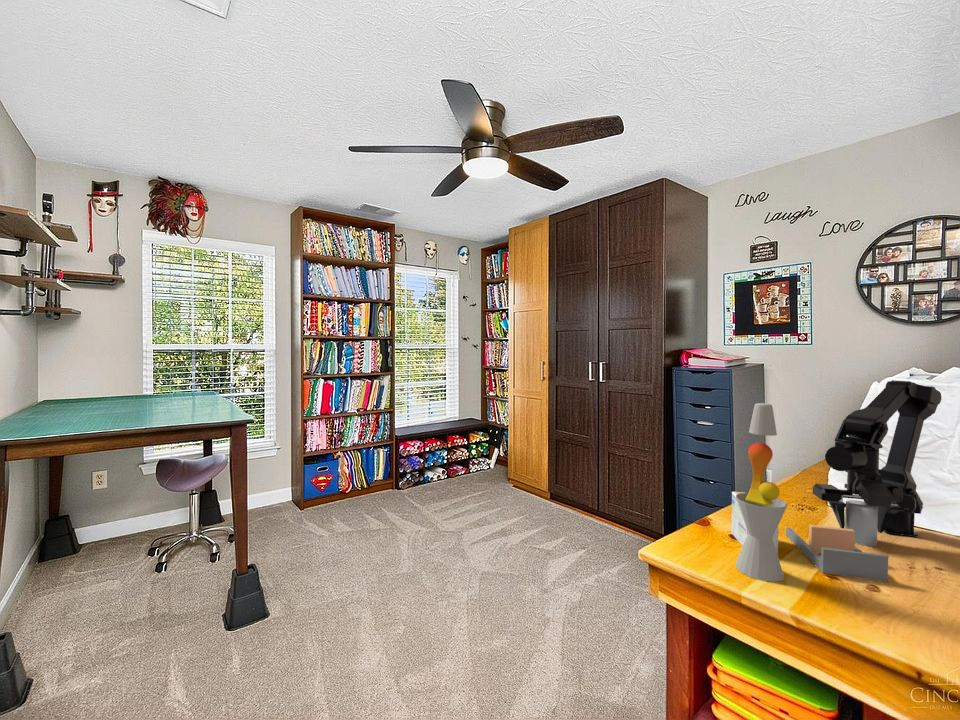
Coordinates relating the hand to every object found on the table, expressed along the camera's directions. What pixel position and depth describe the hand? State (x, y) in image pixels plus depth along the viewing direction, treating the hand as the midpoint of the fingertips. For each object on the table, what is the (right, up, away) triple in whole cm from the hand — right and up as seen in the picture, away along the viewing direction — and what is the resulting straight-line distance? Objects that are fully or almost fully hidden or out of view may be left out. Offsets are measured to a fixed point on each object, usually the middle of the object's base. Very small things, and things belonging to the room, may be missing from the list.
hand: (860, 530), depth 108 cm
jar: (0, -3, 0) cm, 3 cm away
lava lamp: (-35, -3, -16) cm, 38 cm away
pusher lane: (-14, -3, -8) cm, 16 cm away
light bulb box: (-28, -3, -2) cm, 28 cm away
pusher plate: (-14, -3, -8) cm, 16 cm away
